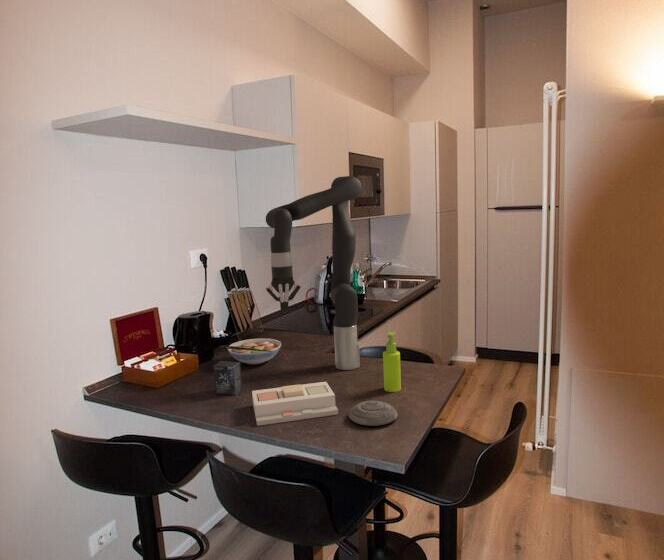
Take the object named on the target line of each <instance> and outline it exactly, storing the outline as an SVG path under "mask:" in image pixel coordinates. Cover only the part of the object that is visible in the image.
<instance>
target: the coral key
mask: <svg viewBox="0 0 664 560" xmlns="http://www.w3.org/2000/svg"><path fill="white" fill-rule="evenodd" d="M273 399H278V396H277V393H276V392H271V393H263V394H258V401H265V400H273Z"/></svg>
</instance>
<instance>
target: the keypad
mask: <svg viewBox="0 0 664 560" xmlns="http://www.w3.org/2000/svg"><path fill="white" fill-rule="evenodd" d="M300 385H301V387H302V389H303V396H296V397H288V398H283V395H282V387H283V386H280V387H274V388H267V389H266V388H264V389H256V390H252V391H251V394H252V395H251V396H252V406H253V411H254V412H253V413H254V417H255V423H256V426H265V425H272V424H279V423H287V422H292V421H293V422H294V421H301V420H308V419H315V418H320V417H321V418H322V417H329V416H335V415H339V408H338V407H337V406H336V395H335V392H334V391H333V390H332V388H331V387H330V385H329V384H328V382H327V381H321V382H313V383H312V382H311V383H305V384H300ZM318 386H324V387H325V389H326V390H327V392H326V393H319V394H311V395H308V393H307V391H306V388H310V387H318ZM271 392H276V393H277V396H278V399H273V400H265V401H258V394H263V393H271Z"/></svg>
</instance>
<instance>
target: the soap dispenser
mask: <svg viewBox="0 0 664 560" xmlns="http://www.w3.org/2000/svg"><path fill="white" fill-rule="evenodd" d="M396 333H397V332H396V331H388V333H387V334H386V335H387V336H386V337H388V341H387V342H385V346H386V348H385V349H386V351H383V352H382V365H383V390H384V391H385V392H388V393H397V392H399V391H401V390H402V381H401V380H402V376H401V375H402V374H401V352H400V351H398V350H397V342H395V341H394V336H395V334H396Z"/></svg>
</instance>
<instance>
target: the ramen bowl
mask: <svg viewBox="0 0 664 560" xmlns="http://www.w3.org/2000/svg"><path fill="white" fill-rule="evenodd" d="M281 347H282V342H281V341H279V340H277V339H274V338H264V337H263V338H250V339H244V340H239V341H236V342H233V343H231V344H230V345H225V344H222V345H221V346H220V345H219V346H218V348H219V349H225V350H227V351H228V353H229V354H230V355H231V356H232V357H233V358H234V360H236V361H237V362H240V363H244V364H247V365H251V366H257V365H261V364H263V363H266V361H270V360H271V359H273V358H274V357H275V356H276V355H277V354H278V352H279V350H280V349H281Z"/></svg>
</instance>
